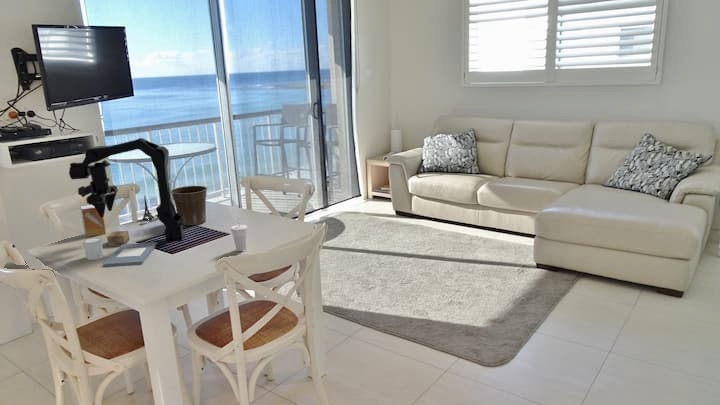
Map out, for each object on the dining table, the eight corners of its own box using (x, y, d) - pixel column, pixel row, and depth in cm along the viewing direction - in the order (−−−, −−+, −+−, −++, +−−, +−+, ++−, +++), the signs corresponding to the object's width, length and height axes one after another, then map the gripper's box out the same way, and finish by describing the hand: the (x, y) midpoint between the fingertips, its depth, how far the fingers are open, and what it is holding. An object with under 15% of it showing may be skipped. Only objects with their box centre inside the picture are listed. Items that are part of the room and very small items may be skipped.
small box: (86, 237, 228) (81, 209, 225) (84, 234, 233) (79, 206, 230) (106, 233, 232) (101, 206, 229) (104, 230, 238) (99, 203, 234)
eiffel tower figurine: (141, 226, 243) (136, 199, 240) (128, 223, 249) (124, 196, 245) (168, 218, 255) (164, 192, 252) (155, 215, 261) (151, 189, 257)
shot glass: (89, 254, 207) (86, 238, 205) (107, 253, 208) (104, 237, 206) (82, 261, 201) (79, 244, 199) (100, 260, 201) (97, 243, 199)
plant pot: (201, 215, 257) (197, 183, 252) (216, 221, 245) (213, 188, 241) (169, 222, 246) (164, 189, 242) (184, 230, 235) (179, 195, 230)
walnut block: (129, 240, 224) (128, 230, 222) (125, 245, 217) (123, 235, 216) (113, 241, 223) (112, 231, 222) (108, 246, 216) (106, 236, 215)
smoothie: (252, 248, 209) (249, 214, 205) (244, 253, 203) (240, 219, 199) (238, 246, 211) (235, 213, 207) (229, 252, 205) (226, 218, 202)
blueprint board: (157, 244, 217) (157, 241, 217) (142, 264, 196) (141, 261, 196) (122, 246, 215) (122, 244, 215) (103, 266, 194) (103, 263, 194)
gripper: (87, 174, 221) (94, 209, 225) (69, 184, 203) (76, 222, 207) (115, 172, 222) (121, 207, 226) (98, 182, 204) (105, 220, 208)
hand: (106, 213), depth 217 cm, fingers open, 9 cm apart
